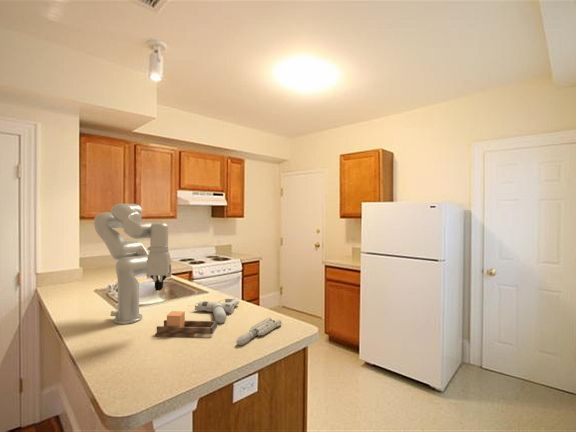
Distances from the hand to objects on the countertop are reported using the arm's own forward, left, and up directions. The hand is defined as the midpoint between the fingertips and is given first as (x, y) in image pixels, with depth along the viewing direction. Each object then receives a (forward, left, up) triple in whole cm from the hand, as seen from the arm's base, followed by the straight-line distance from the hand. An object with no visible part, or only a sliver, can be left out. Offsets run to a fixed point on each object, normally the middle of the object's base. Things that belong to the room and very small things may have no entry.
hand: (158, 289), depth 141 cm
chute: (+13, 0, -19) cm, 23 cm away
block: (+8, 0, -18) cm, 20 cm away
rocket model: (+46, -1, -20) cm, 50 cm away
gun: (+16, +27, -20) cm, 37 cm away
